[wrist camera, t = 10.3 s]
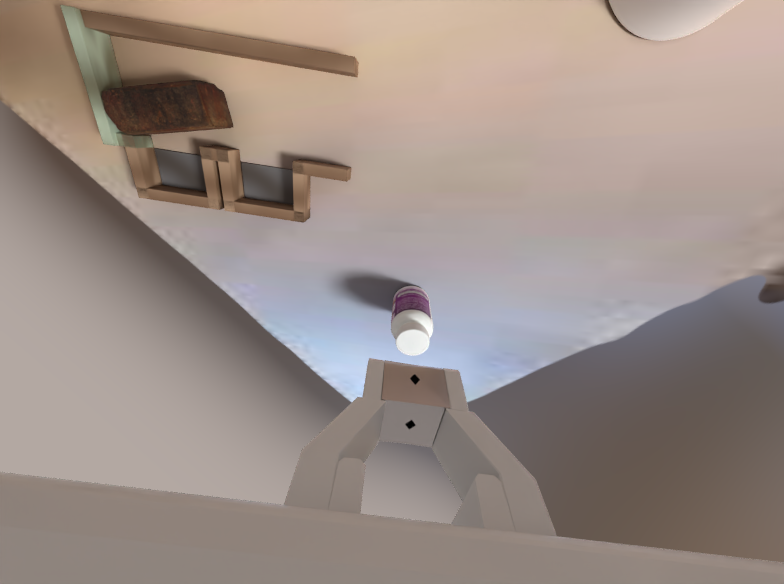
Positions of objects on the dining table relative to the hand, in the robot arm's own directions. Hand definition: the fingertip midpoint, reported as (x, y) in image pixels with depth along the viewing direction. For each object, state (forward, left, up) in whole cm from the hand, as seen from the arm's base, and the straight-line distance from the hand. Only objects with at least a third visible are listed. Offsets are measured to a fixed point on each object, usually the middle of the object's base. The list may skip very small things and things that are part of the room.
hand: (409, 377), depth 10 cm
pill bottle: (+14, +3, -29) cm, 33 cm away
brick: (-6, -26, -30) cm, 40 cm away
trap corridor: (-4, -20, -29) cm, 36 cm away
